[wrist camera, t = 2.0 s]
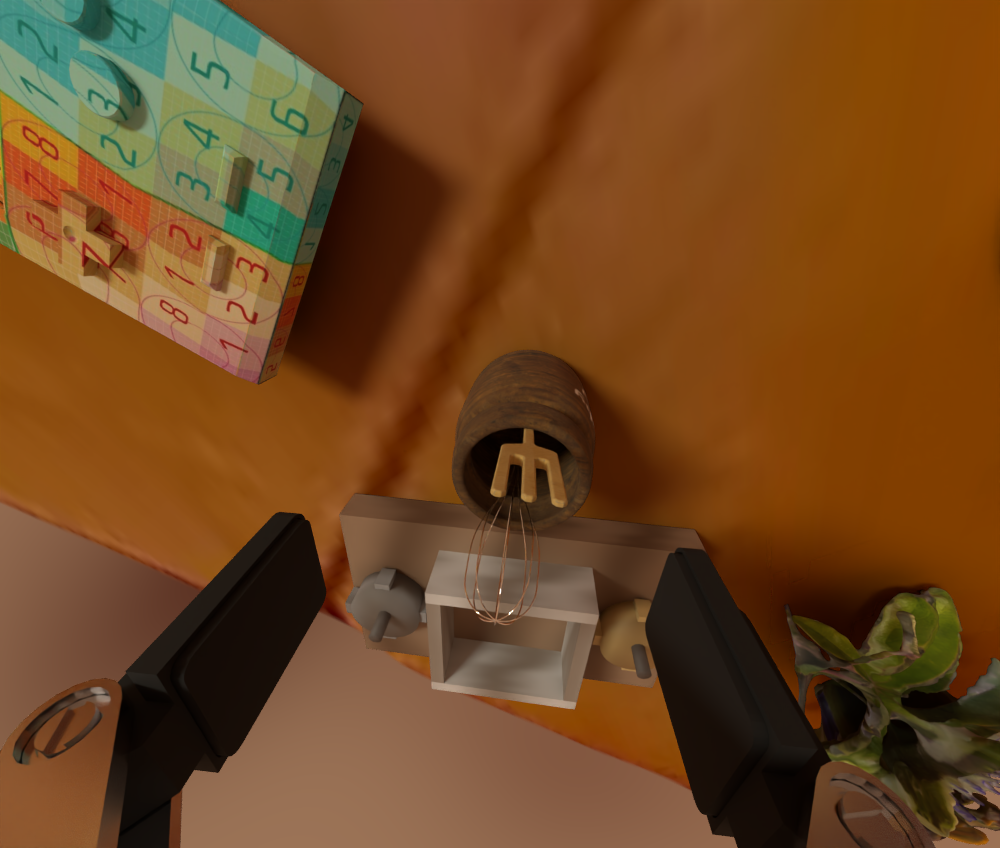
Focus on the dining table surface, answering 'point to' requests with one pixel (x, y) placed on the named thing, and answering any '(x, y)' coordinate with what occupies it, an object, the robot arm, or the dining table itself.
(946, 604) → the passion flower
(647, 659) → the gear board
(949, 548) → the dining table surface
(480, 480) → the utensil holder
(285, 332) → the puzzle game
